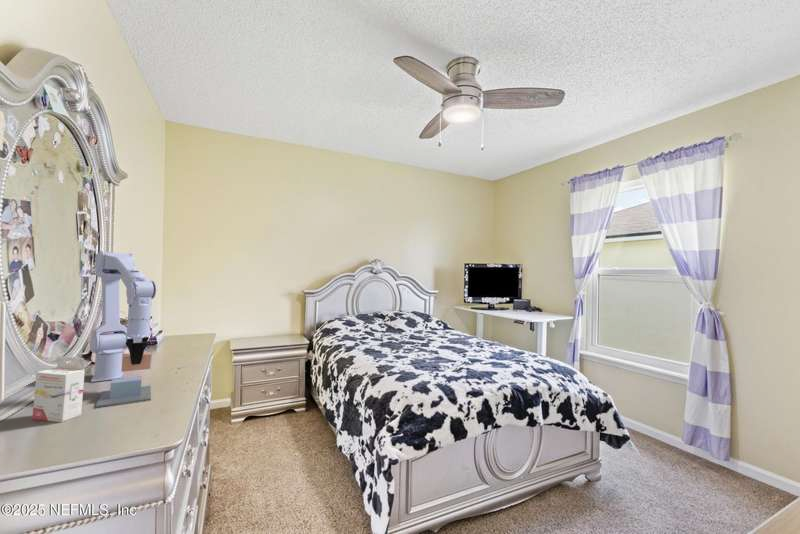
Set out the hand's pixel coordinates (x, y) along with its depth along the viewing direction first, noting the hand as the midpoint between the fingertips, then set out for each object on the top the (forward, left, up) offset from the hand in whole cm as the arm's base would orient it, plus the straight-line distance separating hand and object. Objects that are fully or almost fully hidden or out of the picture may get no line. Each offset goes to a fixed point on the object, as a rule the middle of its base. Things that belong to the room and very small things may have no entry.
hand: (136, 362), depth 106 cm
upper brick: (0, 0, -2) cm, 2 cm away
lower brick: (+5, -2, -8) cm, 10 cm away
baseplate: (+5, -2, -9) cm, 10 cm away
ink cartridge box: (+15, -15, -9) cm, 23 cm away
